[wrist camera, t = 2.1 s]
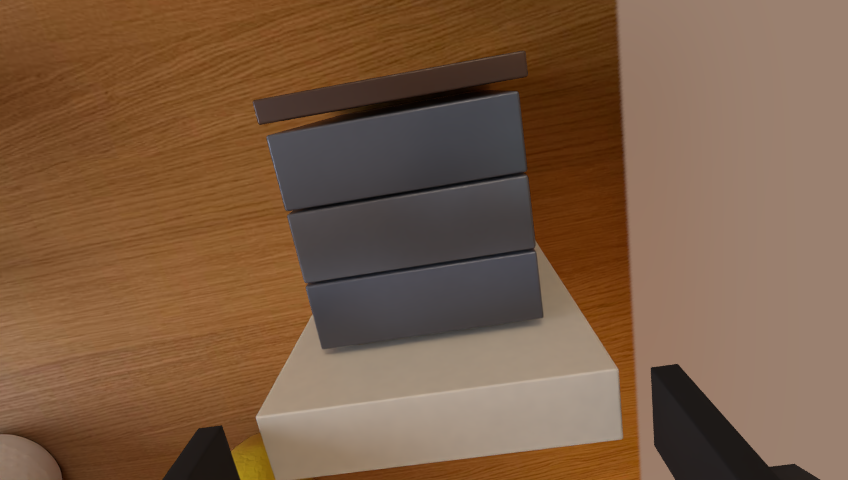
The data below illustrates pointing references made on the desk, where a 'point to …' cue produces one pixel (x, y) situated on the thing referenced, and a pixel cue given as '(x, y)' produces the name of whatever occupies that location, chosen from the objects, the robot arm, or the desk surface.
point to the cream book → (443, 394)
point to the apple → (253, 460)
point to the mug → (26, 460)
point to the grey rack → (410, 203)
